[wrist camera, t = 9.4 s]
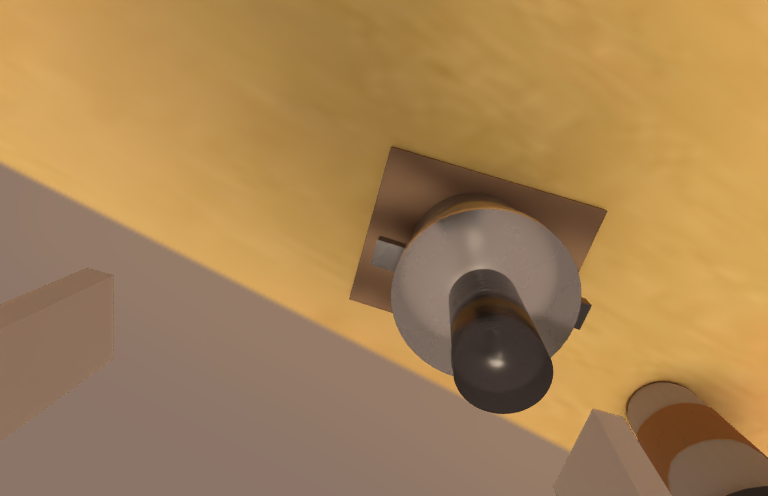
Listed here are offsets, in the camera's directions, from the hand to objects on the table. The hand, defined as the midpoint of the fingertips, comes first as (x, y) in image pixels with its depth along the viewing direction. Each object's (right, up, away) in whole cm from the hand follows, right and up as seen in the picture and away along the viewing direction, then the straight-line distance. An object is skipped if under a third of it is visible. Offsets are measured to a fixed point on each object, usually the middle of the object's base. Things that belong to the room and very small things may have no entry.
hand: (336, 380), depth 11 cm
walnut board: (+9, +3, +26) cm, 28 cm away
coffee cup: (+28, -12, +28) cm, 41 cm away
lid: (+8, +1, +16) cm, 18 cm away
